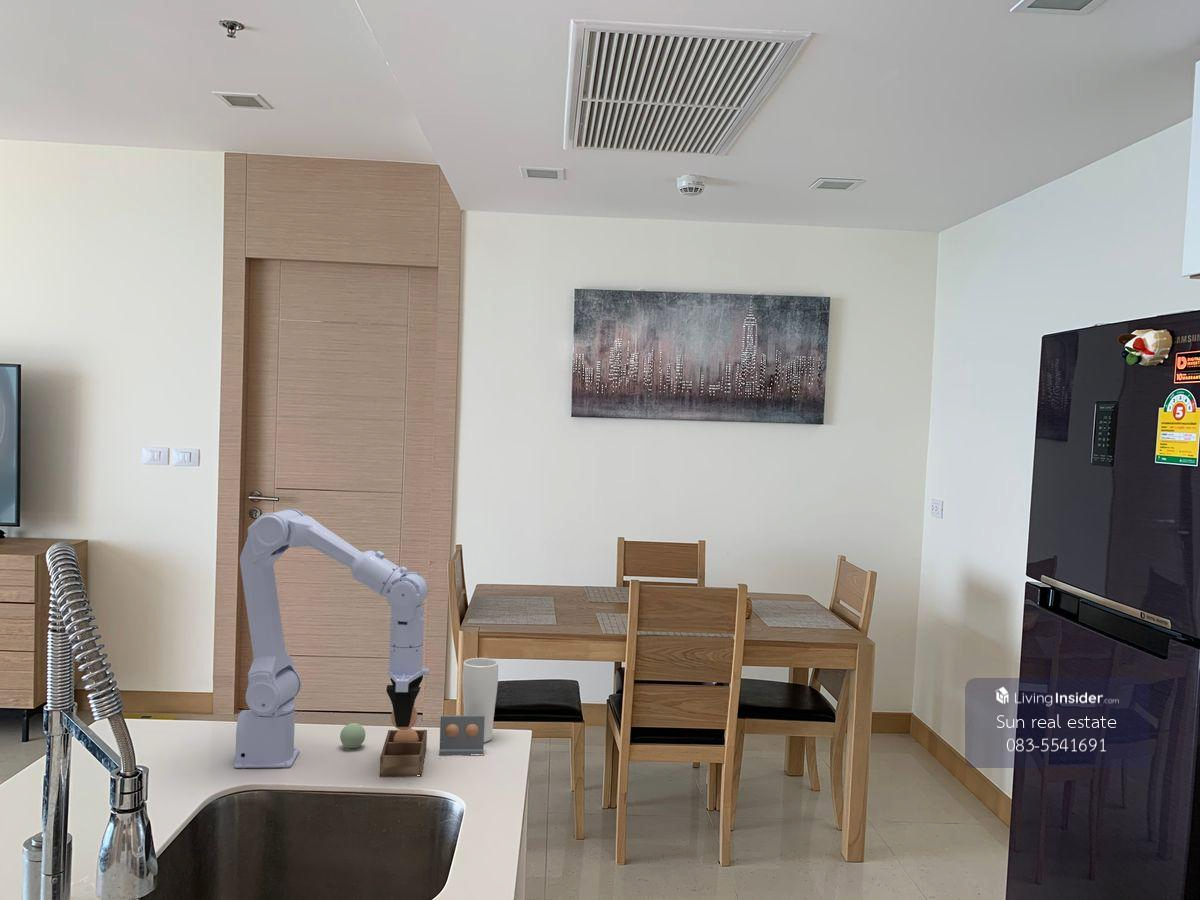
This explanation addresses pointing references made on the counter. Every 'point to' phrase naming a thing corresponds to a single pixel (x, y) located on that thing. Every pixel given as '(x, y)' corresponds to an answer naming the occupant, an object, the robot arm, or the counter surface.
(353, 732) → the sage ball
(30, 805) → the counter surface
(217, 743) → the counter surface
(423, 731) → the pair tray
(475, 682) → the white tall tapered cylinder
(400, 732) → the terracotta ball
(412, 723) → the terracotta ball
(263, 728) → the robot arm
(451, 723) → the card
